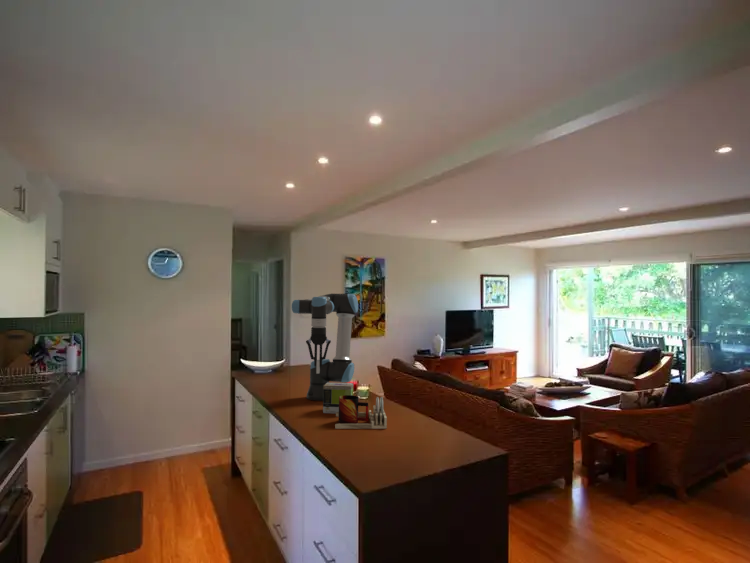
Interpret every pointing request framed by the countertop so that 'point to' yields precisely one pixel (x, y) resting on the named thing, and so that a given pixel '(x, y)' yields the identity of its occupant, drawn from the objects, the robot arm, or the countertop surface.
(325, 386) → the tea box
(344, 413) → the mug
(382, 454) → the countertop surface
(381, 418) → the dish rack
